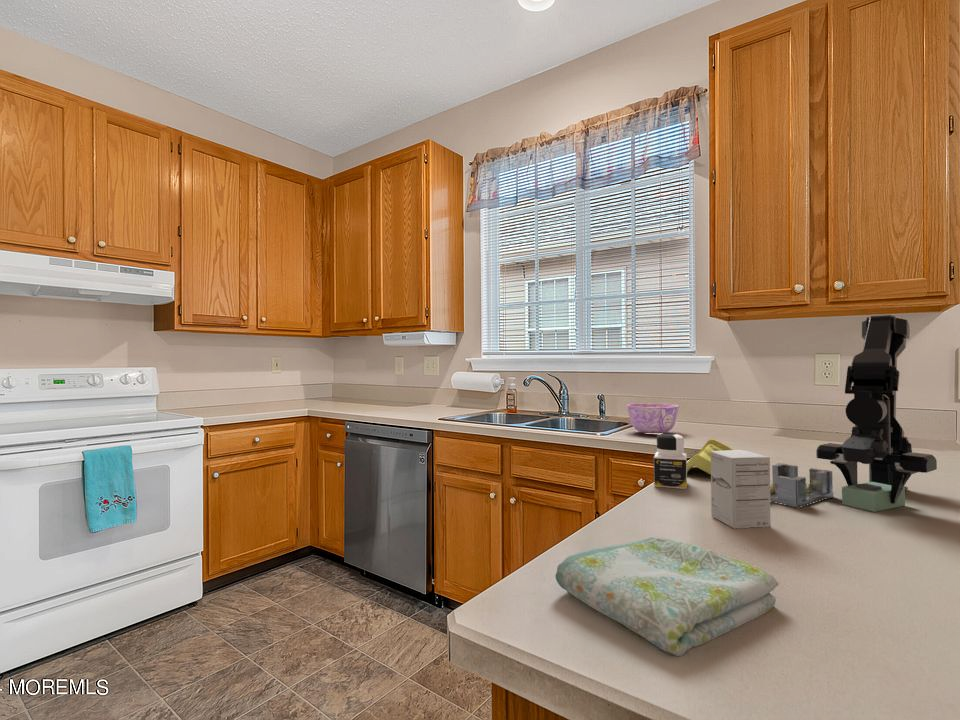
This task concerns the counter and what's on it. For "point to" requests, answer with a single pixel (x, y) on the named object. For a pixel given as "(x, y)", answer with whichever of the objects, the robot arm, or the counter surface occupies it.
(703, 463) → the plastic component
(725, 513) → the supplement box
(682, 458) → the medicine bottle
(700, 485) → the counter surface
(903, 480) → the robot arm
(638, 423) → the purple round bowl
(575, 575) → the towel
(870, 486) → the green block
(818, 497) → the chassis
